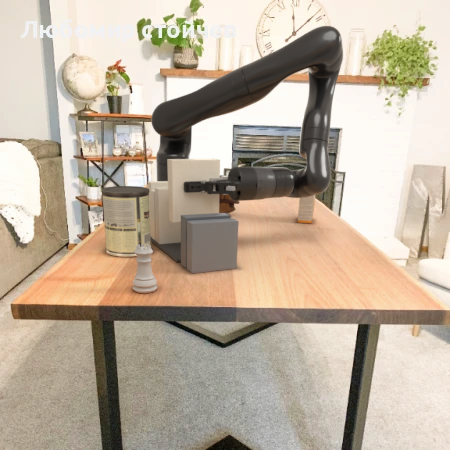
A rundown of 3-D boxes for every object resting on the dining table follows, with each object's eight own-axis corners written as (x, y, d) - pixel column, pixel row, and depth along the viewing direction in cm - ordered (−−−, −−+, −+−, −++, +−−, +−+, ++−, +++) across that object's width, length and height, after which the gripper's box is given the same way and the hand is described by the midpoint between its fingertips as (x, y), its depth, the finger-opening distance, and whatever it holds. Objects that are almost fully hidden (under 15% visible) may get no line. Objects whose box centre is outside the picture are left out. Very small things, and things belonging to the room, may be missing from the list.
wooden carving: (196, 210, 153) (197, 181, 150) (205, 209, 157) (206, 180, 153) (233, 218, 143) (234, 186, 140) (242, 216, 147) (243, 185, 143)
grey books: (180, 264, 94) (180, 214, 90) (223, 260, 98) (224, 212, 94) (192, 273, 88) (192, 221, 85) (236, 268, 92) (238, 218, 89)
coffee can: (107, 245, 106) (103, 185, 101) (150, 245, 108) (149, 186, 103) (103, 257, 97) (99, 191, 91) (151, 256, 98) (149, 192, 93)
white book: (168, 220, 99) (167, 159, 94) (213, 216, 103) (214, 158, 98) (173, 222, 96) (171, 160, 91) (219, 219, 101) (220, 159, 96)
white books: (144, 236, 116) (143, 180, 111) (187, 233, 121) (187, 180, 116) (177, 262, 95) (176, 195, 90) (227, 257, 100) (229, 193, 95)
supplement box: (312, 223, 139) (317, 181, 134) (297, 222, 140) (301, 180, 135) (313, 219, 146) (317, 178, 142) (298, 218, 147) (302, 177, 142)
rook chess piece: (133, 285, 81) (131, 242, 78) (158, 285, 81) (157, 242, 78) (131, 294, 77) (128, 249, 74) (157, 294, 77) (155, 249, 74)
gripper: (238, 164, 107) (170, 165, 100) (267, 169, 95) (193, 171, 88) (237, 195, 110) (170, 198, 103) (265, 204, 98) (193, 209, 91)
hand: (181, 186), depth 96 cm, fingers closed on white book, 3 cm apart
